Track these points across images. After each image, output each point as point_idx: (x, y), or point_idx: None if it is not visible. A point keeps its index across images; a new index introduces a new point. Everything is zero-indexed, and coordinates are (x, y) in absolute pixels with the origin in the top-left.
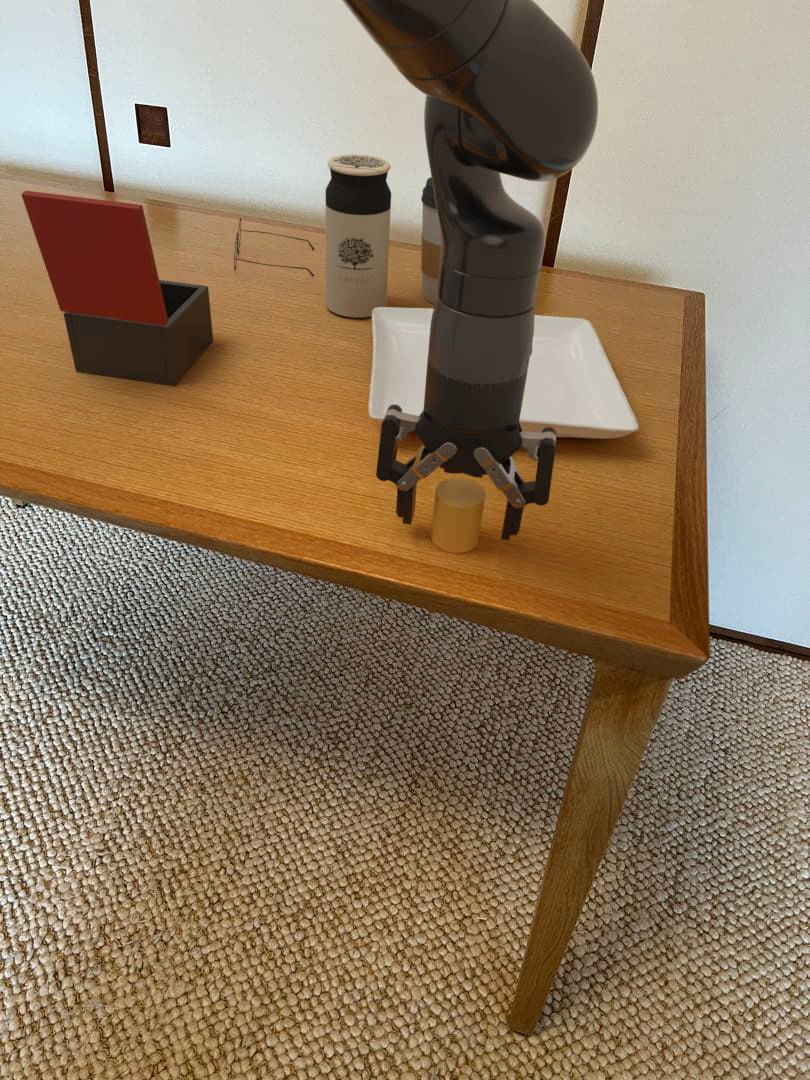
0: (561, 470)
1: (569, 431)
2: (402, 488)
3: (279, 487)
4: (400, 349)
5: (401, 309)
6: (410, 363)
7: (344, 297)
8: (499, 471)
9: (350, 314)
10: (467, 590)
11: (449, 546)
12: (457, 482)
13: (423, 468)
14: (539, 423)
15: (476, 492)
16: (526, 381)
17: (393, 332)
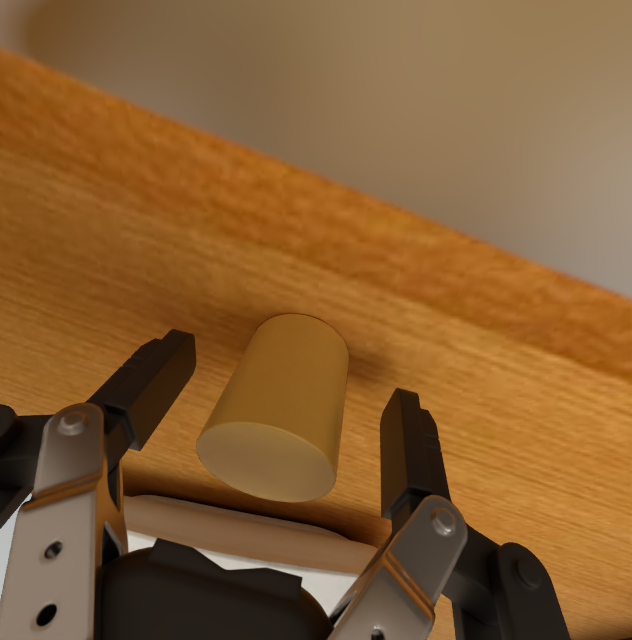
0: (146, 455)
1: (127, 513)
2: (444, 505)
3: (626, 490)
4: None
5: None
6: (340, 595)
7: None
8: (20, 600)
9: None
10: (272, 184)
11: (311, 327)
12: (273, 491)
13: (393, 632)
14: (159, 537)
15: (221, 460)
16: (209, 557)
17: None
